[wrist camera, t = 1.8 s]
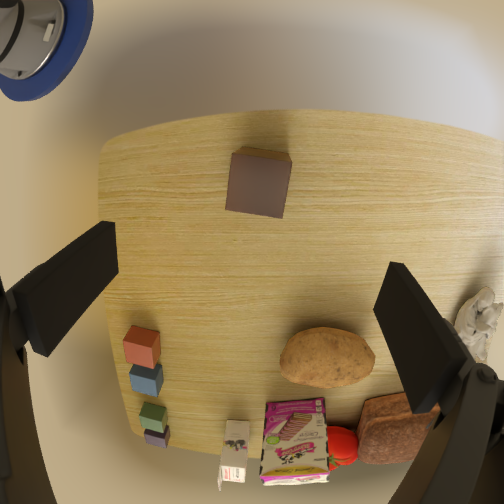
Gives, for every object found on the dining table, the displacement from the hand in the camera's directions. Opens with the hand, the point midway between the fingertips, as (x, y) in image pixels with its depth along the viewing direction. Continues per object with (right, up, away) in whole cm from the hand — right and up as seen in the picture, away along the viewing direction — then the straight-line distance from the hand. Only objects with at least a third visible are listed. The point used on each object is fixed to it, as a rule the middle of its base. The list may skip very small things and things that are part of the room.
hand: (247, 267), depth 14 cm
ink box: (-3, -37, +43) cm, 57 cm away
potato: (+11, -13, +31) cm, 35 cm away
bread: (+36, -33, +38) cm, 62 cm away
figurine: (+37, -9, +27) cm, 47 cm away
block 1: (-18, -14, +34) cm, 41 cm away
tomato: (+17, -38, +42) cm, 59 cm away
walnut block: (+1, +10, +21) cm, 23 cm away
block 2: (-19, -21, +37) cm, 47 cm away
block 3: (-21, -34, +43) cm, 58 cm away
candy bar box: (+8, -28, +38) cm, 48 cm away
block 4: (-22, -41, +46) cm, 66 cm away
